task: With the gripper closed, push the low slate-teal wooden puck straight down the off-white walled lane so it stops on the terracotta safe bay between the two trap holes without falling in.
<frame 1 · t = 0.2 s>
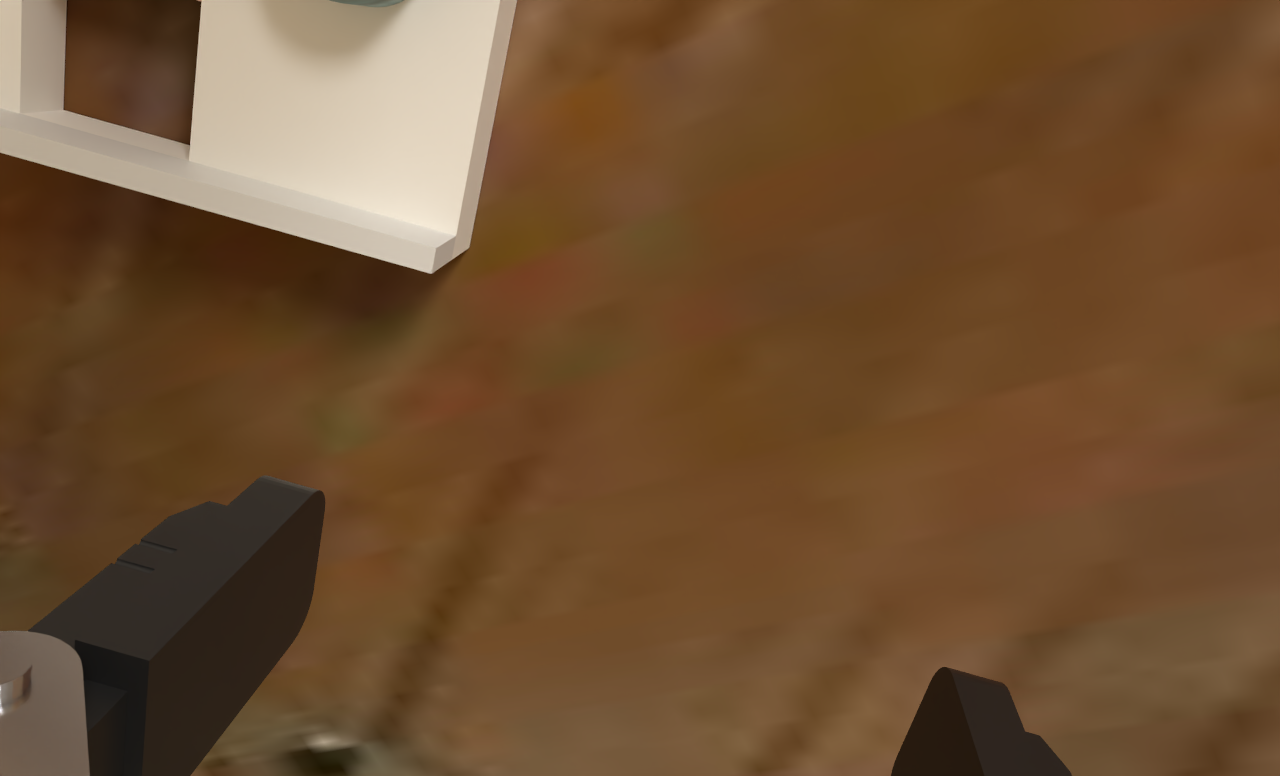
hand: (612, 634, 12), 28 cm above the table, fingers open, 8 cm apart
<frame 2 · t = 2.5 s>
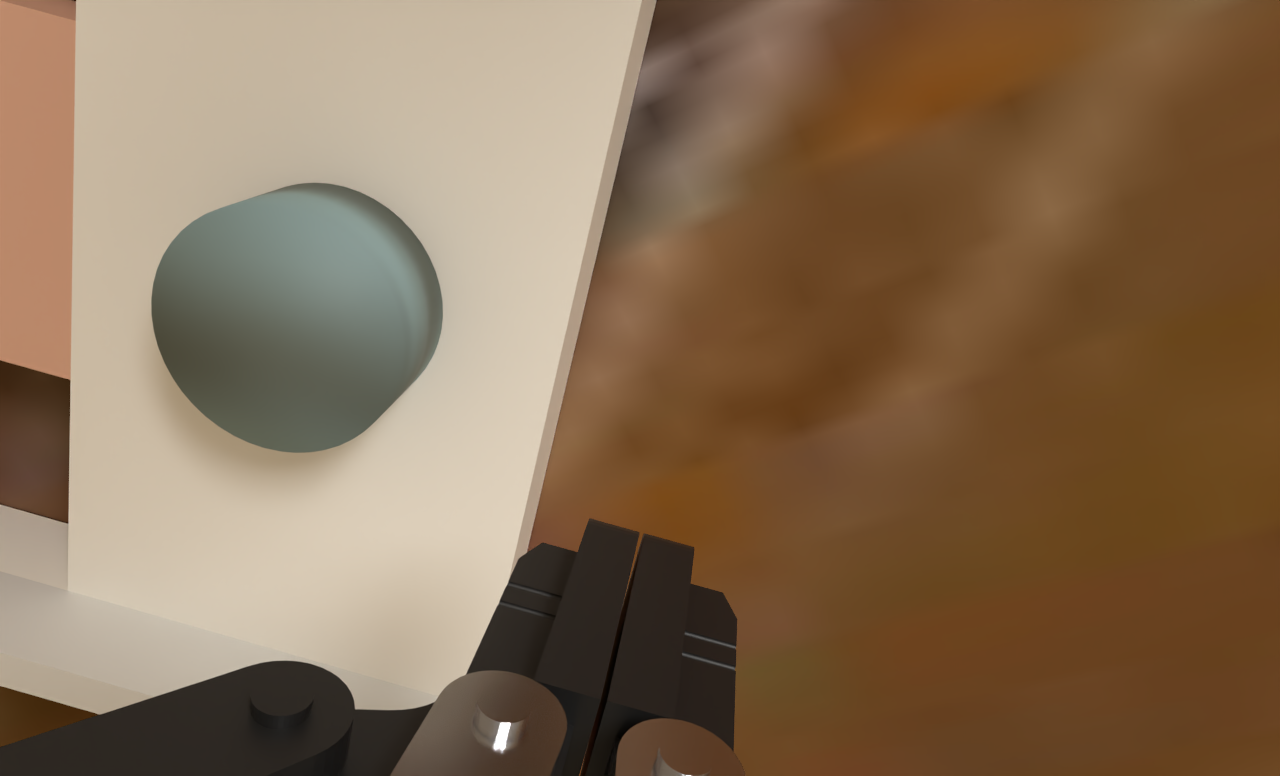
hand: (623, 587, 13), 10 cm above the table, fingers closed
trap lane: (183, 205, 23), on the table
puck: (330, 299, 20), point 2 cm above the table, touching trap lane
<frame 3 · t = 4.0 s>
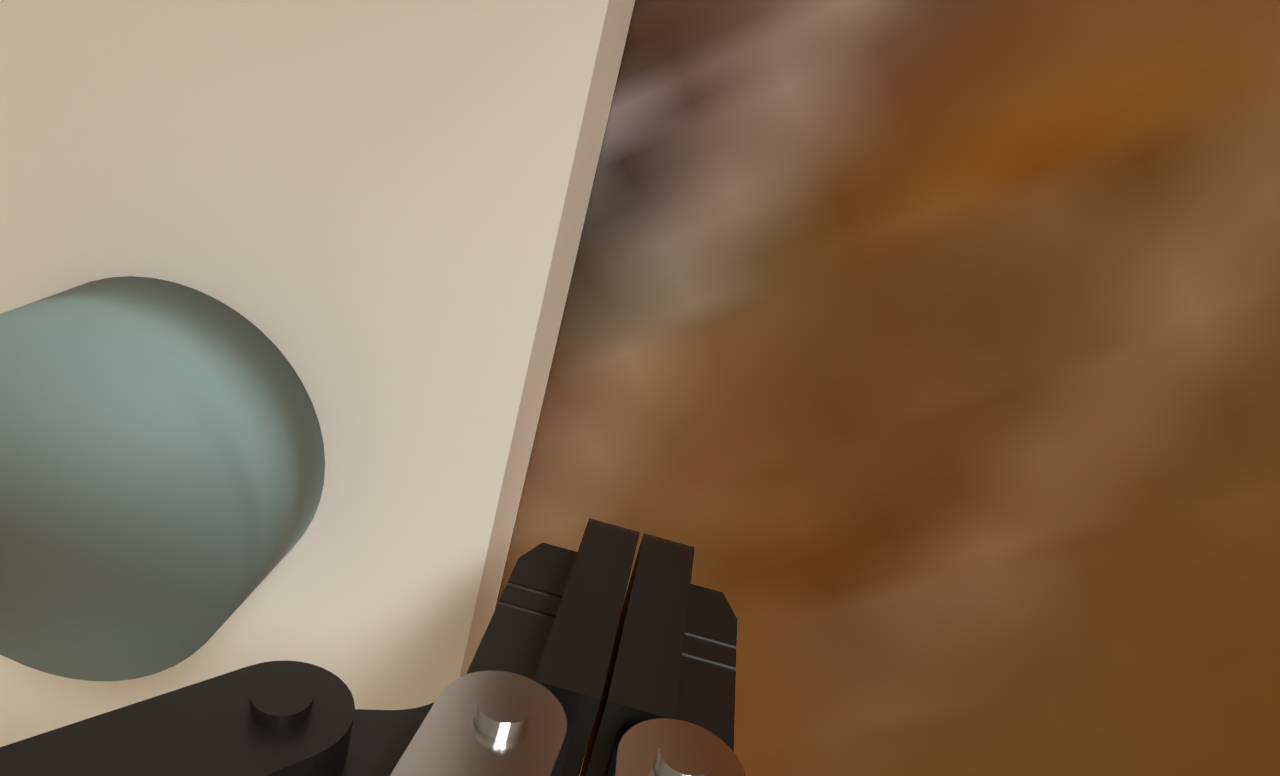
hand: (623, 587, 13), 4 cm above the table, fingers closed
puck: (165, 438, 14), point 2 cm above the table, touching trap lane
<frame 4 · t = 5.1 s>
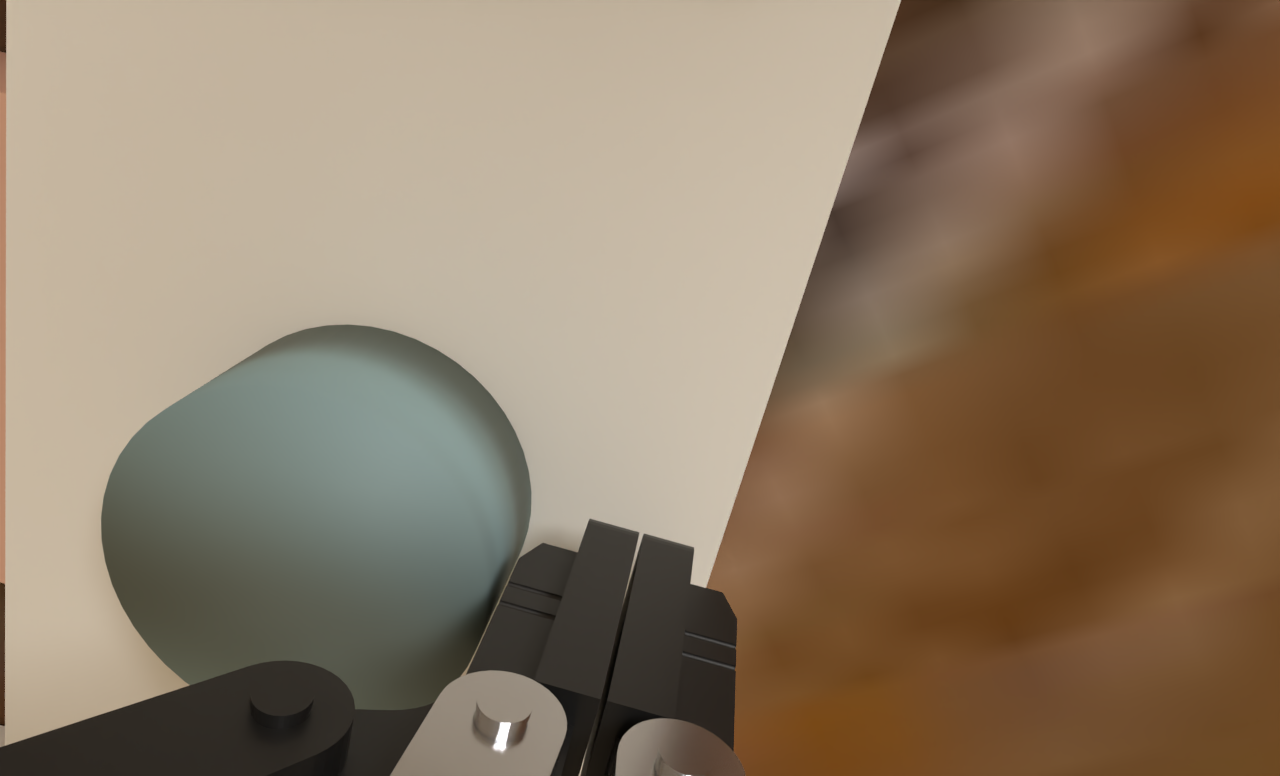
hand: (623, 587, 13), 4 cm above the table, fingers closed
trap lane: (166, 333, 16), on the table
puck: (368, 484, 14), point 2 cm above the table, touching gripper, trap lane
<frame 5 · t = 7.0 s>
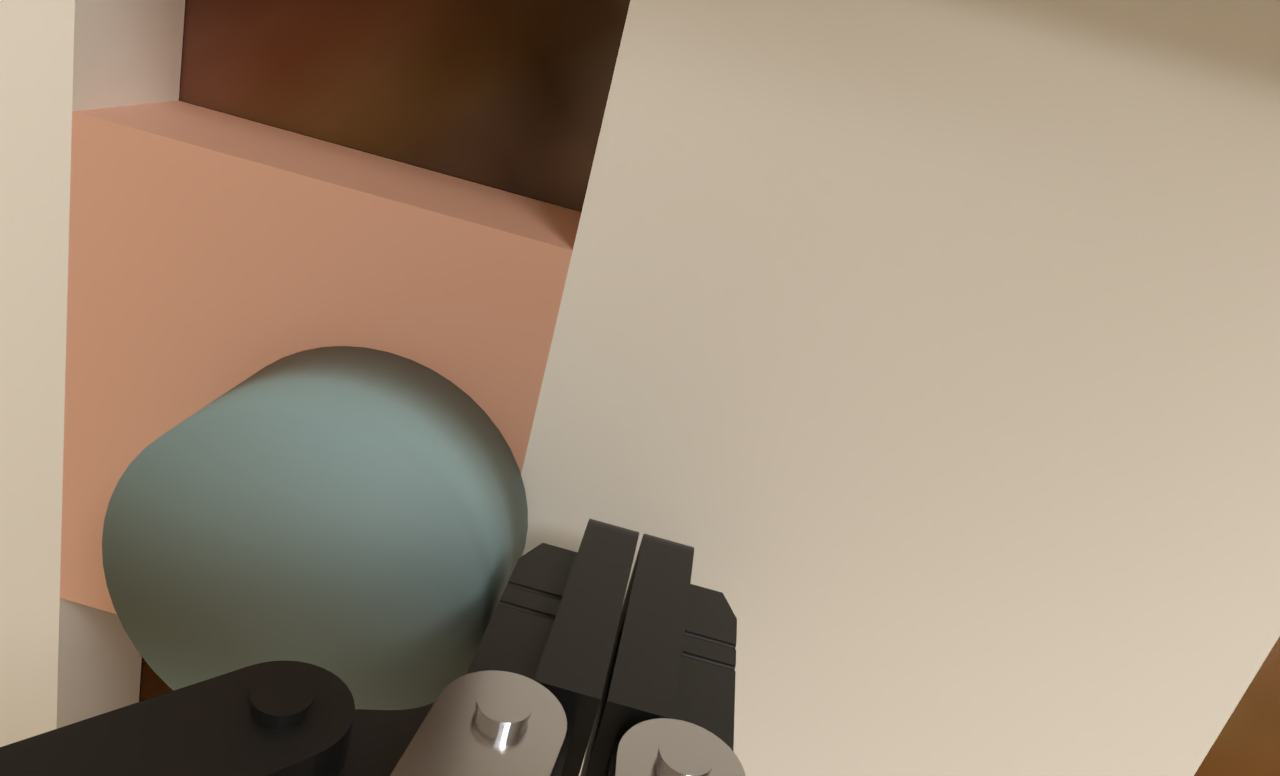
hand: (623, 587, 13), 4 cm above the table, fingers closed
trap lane: (603, 455, 16), on the table
puck: (366, 503, 14), point 2 cm above the table, touching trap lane
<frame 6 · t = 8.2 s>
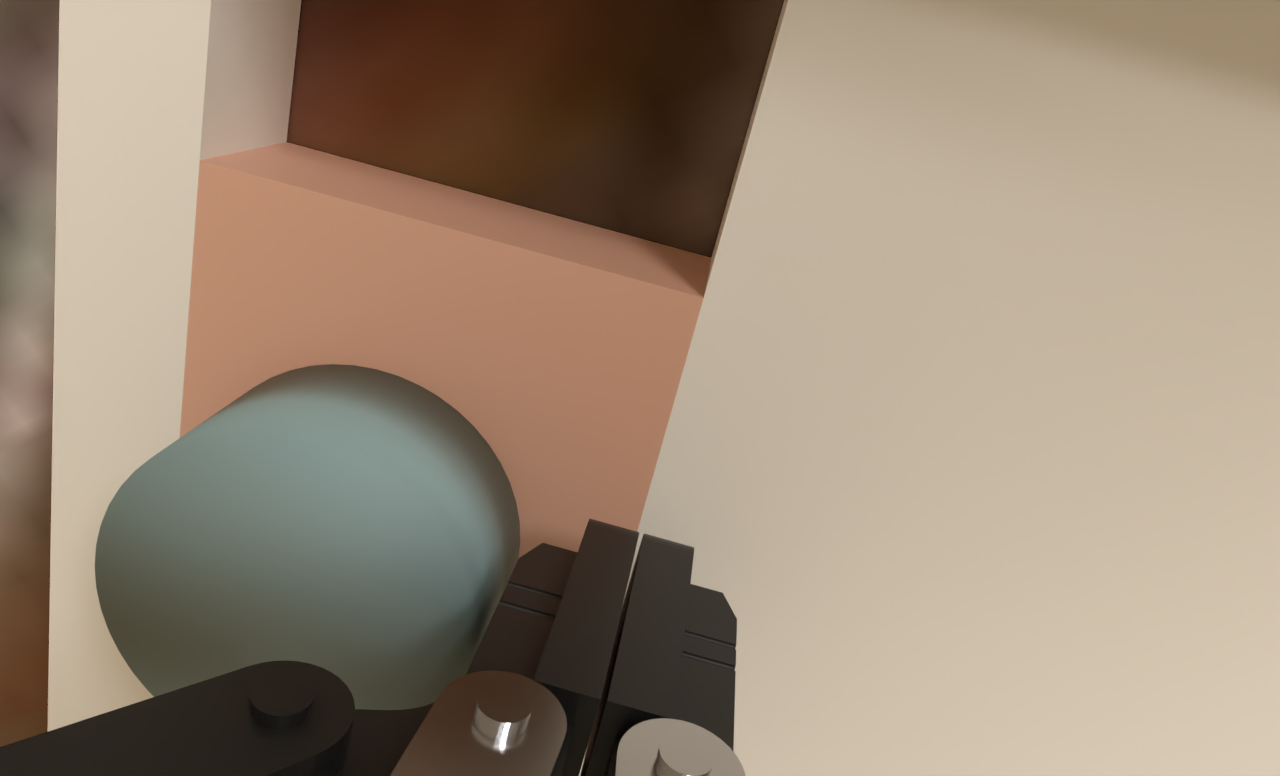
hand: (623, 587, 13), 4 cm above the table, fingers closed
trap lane: (704, 493, 16), on the table
puck: (359, 519, 14), point 2 cm above the table, touching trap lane
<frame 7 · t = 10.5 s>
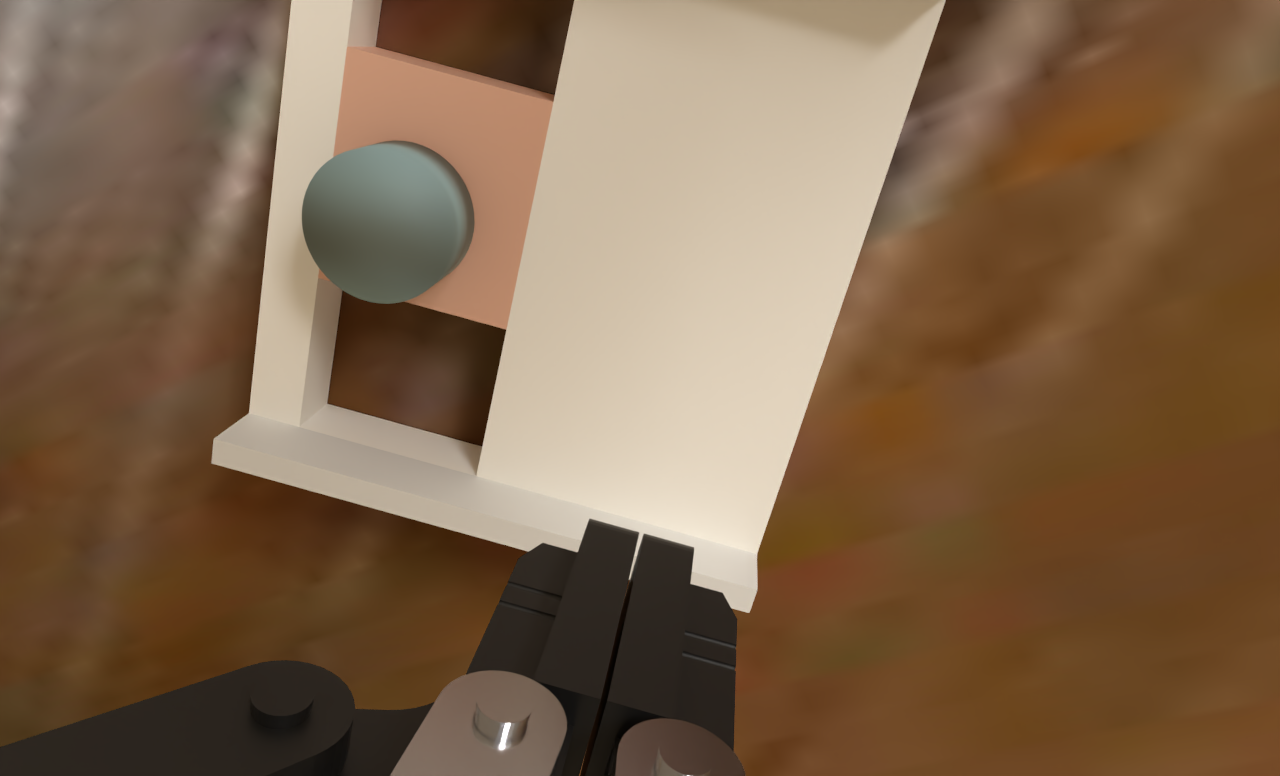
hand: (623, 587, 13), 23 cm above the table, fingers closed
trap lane: (570, 216, 34), on the table
puck: (403, 214, 32), point 2 cm above the table, touching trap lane
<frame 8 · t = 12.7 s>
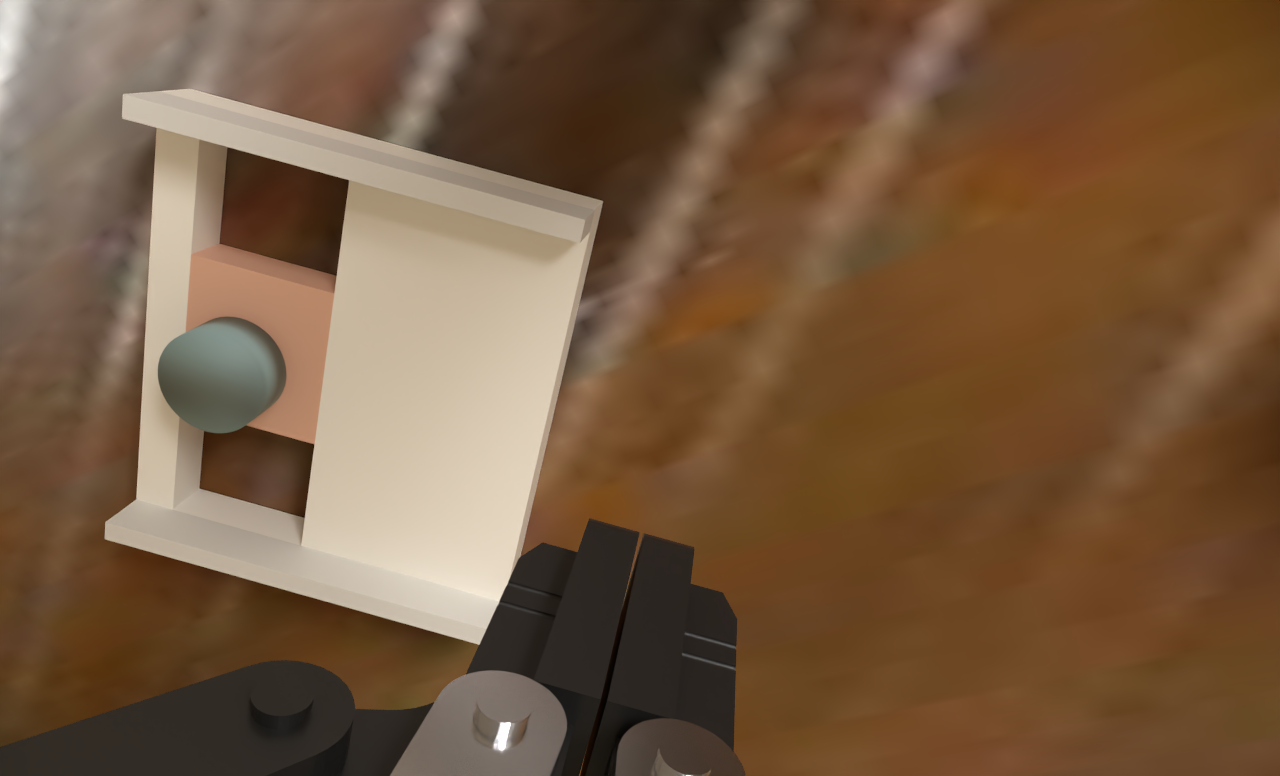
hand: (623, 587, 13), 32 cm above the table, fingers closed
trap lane: (364, 360, 47), on the table
puck: (237, 365, 45), point 2 cm above the table, touching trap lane
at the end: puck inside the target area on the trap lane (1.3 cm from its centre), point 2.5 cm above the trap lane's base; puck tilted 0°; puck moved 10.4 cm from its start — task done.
